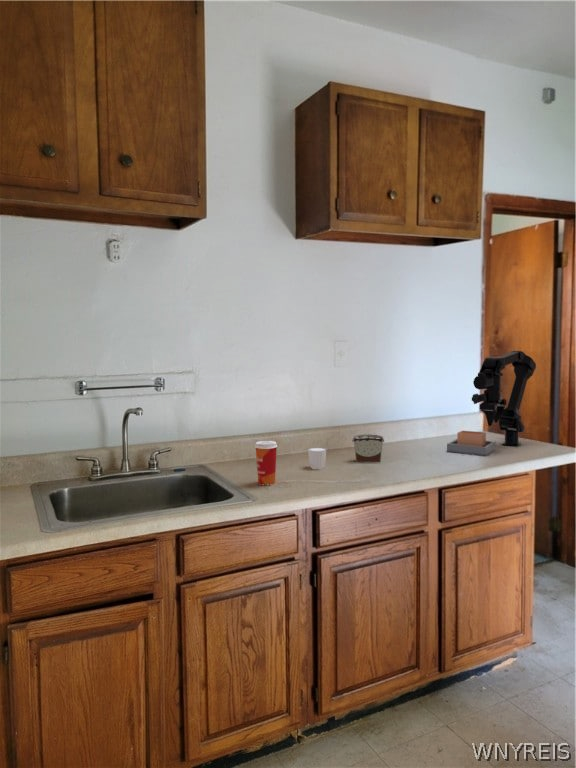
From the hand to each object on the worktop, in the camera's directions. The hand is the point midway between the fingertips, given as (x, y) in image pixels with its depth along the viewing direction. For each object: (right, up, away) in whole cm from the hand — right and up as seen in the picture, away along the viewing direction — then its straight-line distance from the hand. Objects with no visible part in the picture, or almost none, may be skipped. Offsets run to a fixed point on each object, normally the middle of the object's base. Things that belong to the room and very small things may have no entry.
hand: (493, 424), depth 242 cm
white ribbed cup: (-75, -15, -27) cm, 81 cm away
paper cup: (-94, -17, -48) cm, 107 cm away
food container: (-55, -13, -17) cm, 59 cm away
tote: (-10, -10, -2) cm, 14 cm away
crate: (-10, -11, -2) cm, 15 cm away
